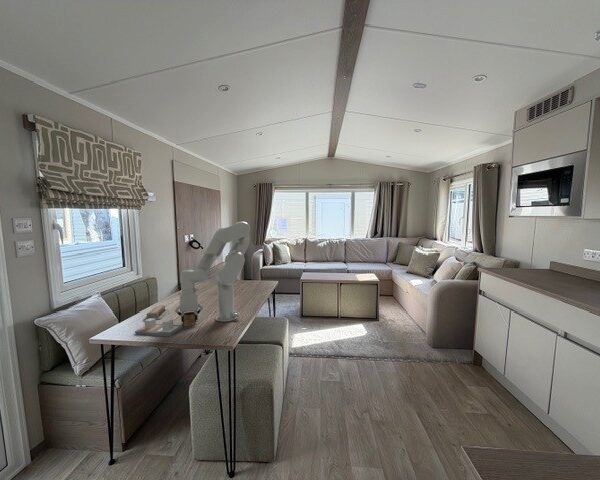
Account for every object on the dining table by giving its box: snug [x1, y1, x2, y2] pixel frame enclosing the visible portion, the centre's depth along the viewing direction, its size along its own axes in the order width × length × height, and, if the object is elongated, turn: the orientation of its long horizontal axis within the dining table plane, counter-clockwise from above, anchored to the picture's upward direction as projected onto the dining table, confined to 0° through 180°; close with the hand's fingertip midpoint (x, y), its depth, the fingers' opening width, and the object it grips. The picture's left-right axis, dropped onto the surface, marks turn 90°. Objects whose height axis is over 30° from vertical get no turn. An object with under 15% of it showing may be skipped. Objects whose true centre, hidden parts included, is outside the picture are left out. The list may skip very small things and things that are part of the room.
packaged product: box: [143, 304, 170, 321], centre depth 186 cm, size 18×5×10 cm
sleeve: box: [183, 311, 196, 327], centre depth 169 cm, size 6×6×6 cm
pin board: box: [134, 318, 183, 337], centre depth 159 cm, size 20×12×6 cm, turn 78°
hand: (189, 321), depth 170 cm, fingers closed on sleeve, 6 cm apart
